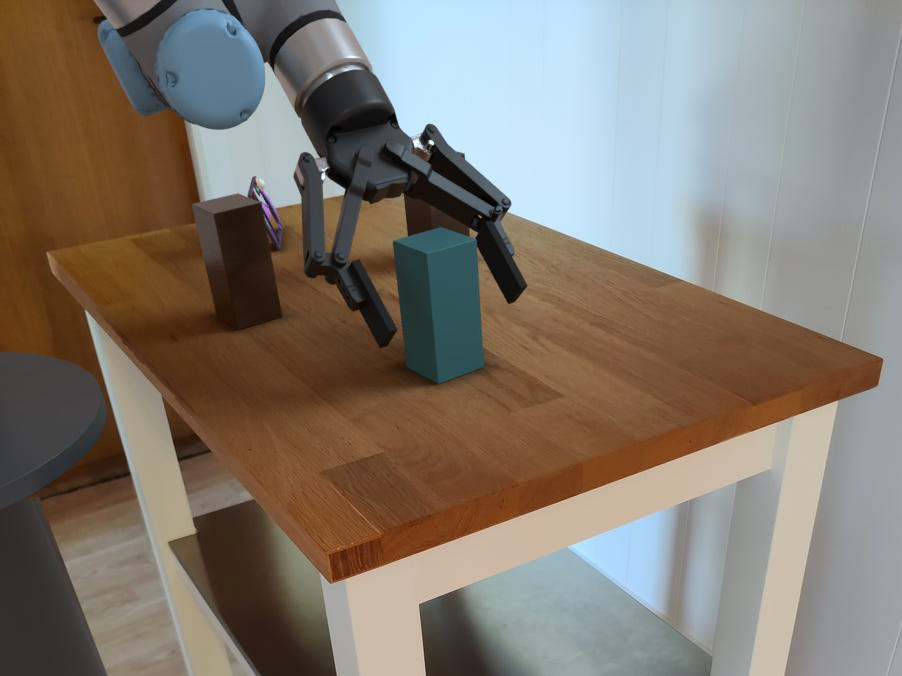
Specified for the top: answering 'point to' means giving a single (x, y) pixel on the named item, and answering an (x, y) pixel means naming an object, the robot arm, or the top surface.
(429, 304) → the teal block
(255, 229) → the walnut block front
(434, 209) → the walnut block back
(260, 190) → the purple open frame
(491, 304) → the top surface
